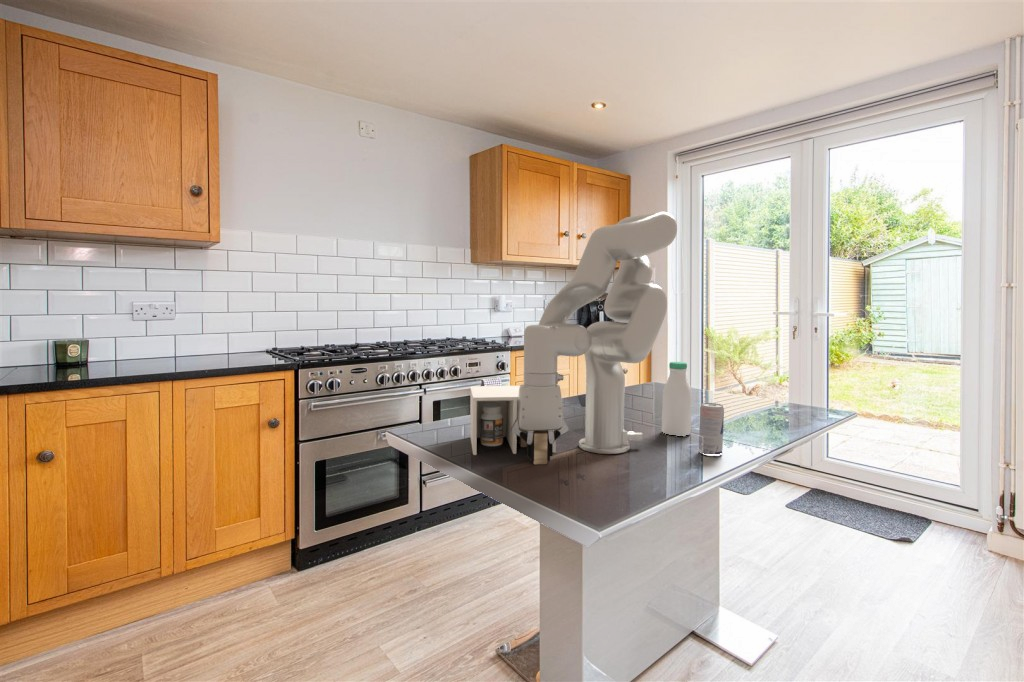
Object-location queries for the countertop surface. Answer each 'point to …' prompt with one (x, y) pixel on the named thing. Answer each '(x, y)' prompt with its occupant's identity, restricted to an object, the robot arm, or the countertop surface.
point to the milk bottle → (677, 401)
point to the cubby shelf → (508, 403)
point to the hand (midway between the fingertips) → (539, 459)
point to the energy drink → (711, 428)
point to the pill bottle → (491, 425)
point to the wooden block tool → (537, 446)
